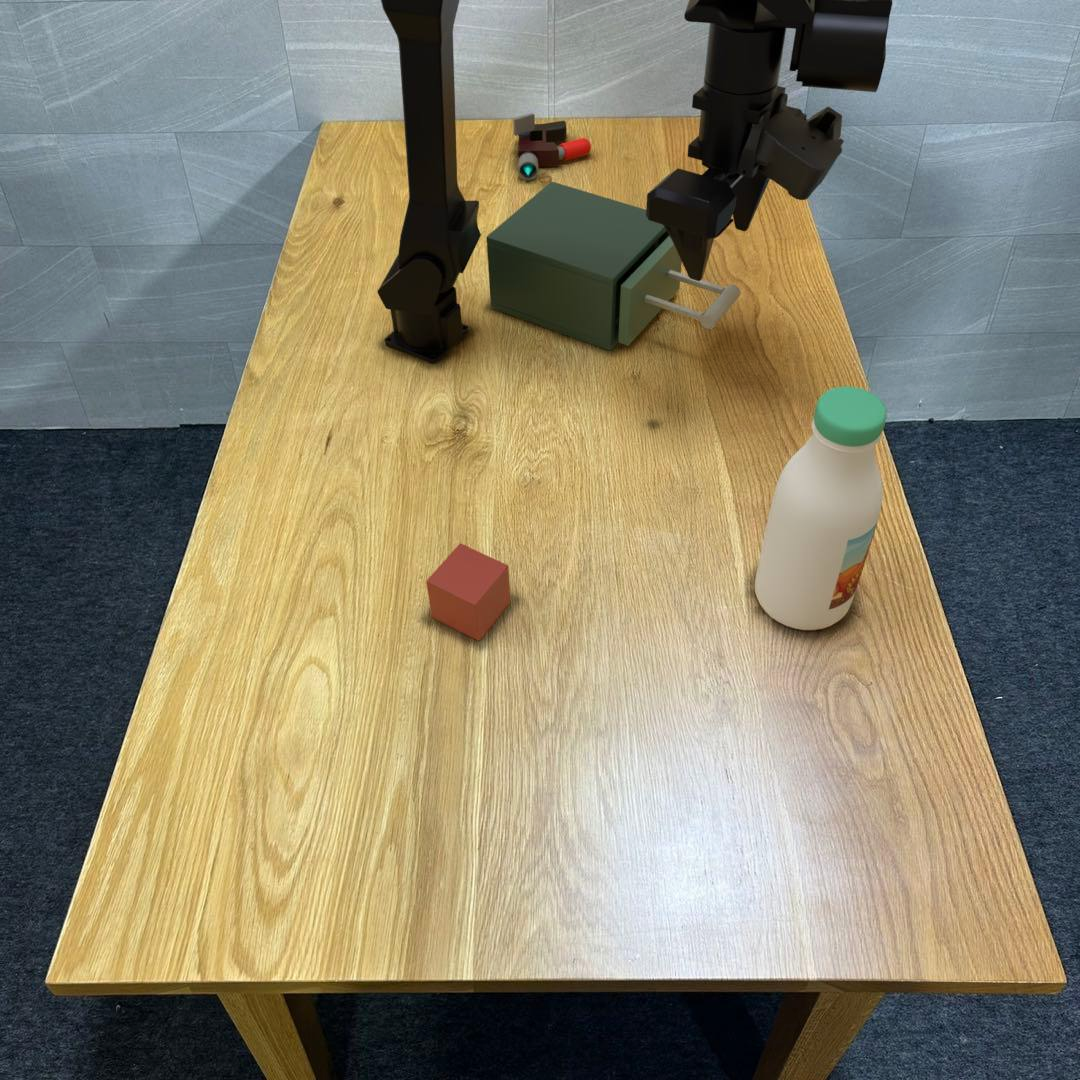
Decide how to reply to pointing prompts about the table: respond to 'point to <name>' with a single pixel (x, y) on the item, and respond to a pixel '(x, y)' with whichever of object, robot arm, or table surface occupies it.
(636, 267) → the drawer
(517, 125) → the toy gun
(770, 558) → the milk bottle
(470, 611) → the block
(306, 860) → the table surface
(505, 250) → the cabinet
